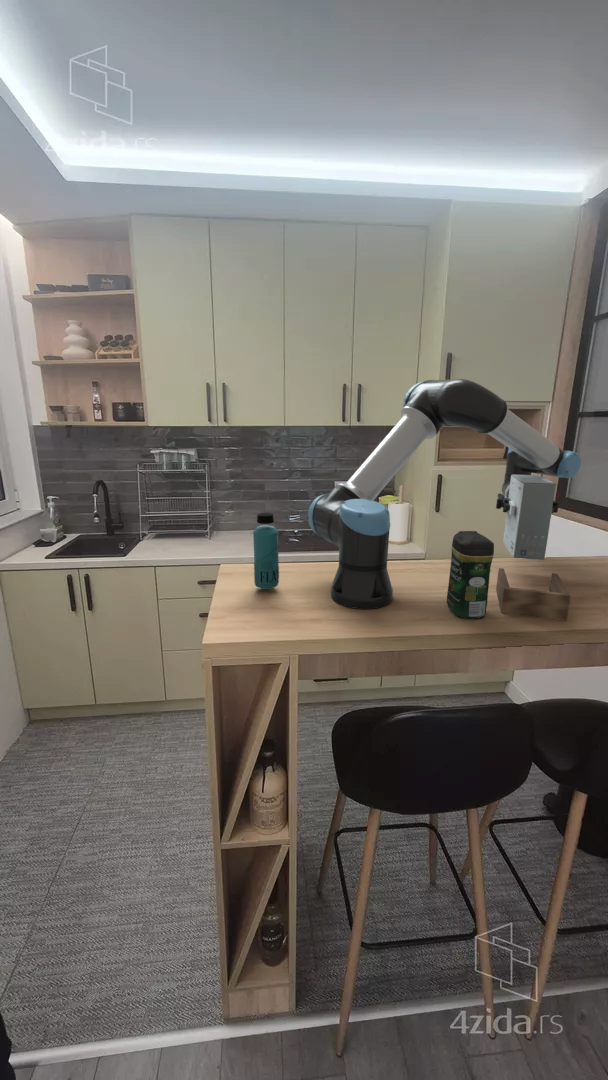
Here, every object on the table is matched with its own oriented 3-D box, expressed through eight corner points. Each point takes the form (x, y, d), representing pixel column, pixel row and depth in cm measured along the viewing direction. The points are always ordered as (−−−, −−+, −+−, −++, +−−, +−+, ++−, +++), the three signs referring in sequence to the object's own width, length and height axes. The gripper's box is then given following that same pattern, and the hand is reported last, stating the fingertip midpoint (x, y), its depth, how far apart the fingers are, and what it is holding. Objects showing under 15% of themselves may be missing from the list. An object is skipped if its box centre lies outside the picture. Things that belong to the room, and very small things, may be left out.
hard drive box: (545, 561, 118) (556, 483, 112) (513, 559, 119) (523, 482, 113) (530, 543, 132) (539, 474, 126) (501, 542, 134) (509, 473, 128)
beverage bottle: (257, 595, 114) (255, 517, 108) (251, 586, 120) (249, 511, 115) (282, 592, 116) (281, 515, 111) (275, 583, 122) (274, 509, 117)
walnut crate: (501, 612, 106) (504, 588, 104) (495, 589, 119) (498, 568, 117) (566, 620, 102) (570, 595, 100) (553, 596, 115) (557, 573, 113)
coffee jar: (441, 602, 111) (448, 528, 106) (474, 602, 111) (483, 528, 106) (455, 620, 102) (464, 540, 96) (490, 620, 102) (501, 540, 97)
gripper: (556, 510, 137) (574, 529, 116) (481, 505, 143) (486, 523, 122) (560, 485, 135) (579, 500, 114) (484, 481, 141) (489, 495, 120)
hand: (531, 512), depth 118 cm, fingers closed on hard drive box, 8 cm apart
